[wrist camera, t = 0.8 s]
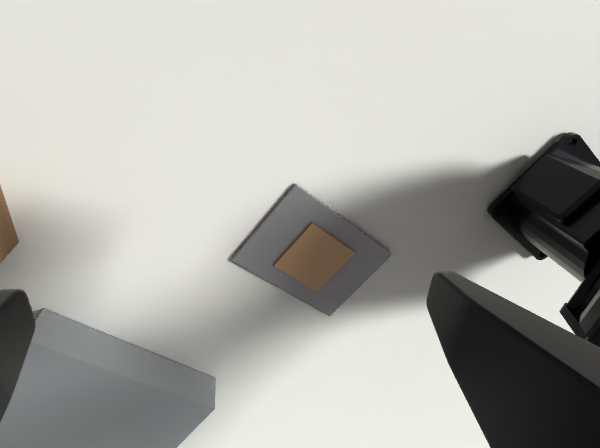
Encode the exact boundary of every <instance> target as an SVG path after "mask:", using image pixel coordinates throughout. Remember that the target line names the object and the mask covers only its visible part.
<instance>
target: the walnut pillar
mask: <svg viewBox="0 0 600 448" xmlns="http://www.w3.org/2000/svg"><path fill="white" fill-rule="evenodd" d="M18 243H19V242H18V239H17V235H16V232H15V229H14V226H13V223H12V220H11V217H10V214H9V211H8V208H7V205H6V202H5V198H4V195H3V192H2V189H1V186H0V263H1V262H2V261H3V260H4V258H5V257H6V256H7V255H8V254H9V253H10V252H11V251H12V249H13V248H14V247H15V246H16V245H17V244H18Z"/></svg>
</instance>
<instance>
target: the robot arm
mask: <svg viewBox="0 0 600 448" xmlns="http://www.w3.org/2000/svg"><path fill="white" fill-rule="evenodd" d="M571 140H572V141H571ZM570 141H571V142H570ZM569 142H570V144H569ZM498 208H499V209H498ZM497 209H498V211H497V212H495V211H496V210H497ZM488 214H489V215H490V216H491V217H492V218H493V219H494V220H495V221H496V222H497V223H498V224H499V225H500V226H502V227H503V228H504V229H505V230H506V231H507V232H508V233H509V234H510V235H511V236H512V237H513V238H514V239H515V240H517V241H518V242H519V243H520V244H521V245H522V246H523V247H524V248H525V249H526V250H527V251H528V252H529V253H530V254H531V255H533V256H534V257H535V258H536V259H538V260H543V259H545V258H546V257H550V258H551V259H552V260H554V261H555V262H556V263H557V264H559V265H560V266H561V267H563V268H564V269H565V270H566V271H568V272H569V273H570V274H572V275H573V276H574V277H575V278H577V279H578V280H579V281H581V282H582V283H581V284H580V286H579V287H578V289H577V290H576V292H575V293H574V294H573V296H572V297H571V299H570V300H569V302H568V303H565V304H564V305H563V307H562V308H561V310H560V313H561V314H562V316H563V317H564V319H565V320H566V322H567V323H568V325H569V326H570V327H571V329H572V330H573V332H574V333H575V335H574V334H573V333H571V332H569V331H567V330H565V329H563V328H561V327H559V326H557V325H555V324H553V323H551V322H549V321H547V320H545V319H544V318H542V317H540V316H538V315H536V314H534V313H532V312H530V311H528V310H526V309H524V308H522V307H520V306H518V305H516V304H514V303H513V302H511V301H509V300H507V299H505V298H503V297H501V296H499V295H497V294H495V293H493V292H491V291H489V290H487V289H485V288H483V287H482V286H480V285H478V284H476V283H474V282H472V281H470V280H468V279H466V278H464V277H462V276H460V275H458V274H456V273H454V272H451V271H447V272H437V273H435V274H434V275H433V278H432V281H431V285H430V289H429V292H428V296H427V308H428V311H429V314H430V317H431V319H432V322H433V325H434V327H435V330H436V333H437V335H438V338H439V341H440V343H441V346H442V348H443V351H444V354H445V356H446V359H447V361H448V363H449V366H450V368H451V370H452V372H453V374H454V376H455V378H456V380H457V382H458V384H459V386H460V388H461V390H462V392H463V394H464V396H465V398H466V400H467V402H468V404H469V406H470V408H471V410H472V412H473V414H474V416H475V418H476V420H477V422H478V424H479V426H480V428H481V430H482V432H483V434H484V436H485V438H486V440H487V442H488V443H489V445H490V447H491V448H600V162H599V160H598V159H597V158H596V156H595V155H594V154H593V152H592V151H591V150H590V148H589V147H588V146H587V144H586V143H585V142H584V140H583V139H582V138H581V136H579V135H578V134H575V133H571V132H570V133H567V134H565V135H564V136H563V137H562V138H561V139H560V140H559V141H558V142H557V143H555V144H554V145H553V146H552V147H551V148H550V149H549V150H548V151H547V152H546V153H545V154H544V155H543V156H542V157H541V158H540V159H539V160H537V161H536V162H535V163H534V164H533V165H532V166H531V167H530V168H529V169H528V170H527V171H526V172H525V173H524V174H523V175H522V176H521V177H519V178H518V179H517V180H516V181H515V182H514V183H513V184H512V185H511V186H510V187H509V188H508V189H507V190H506V191H505V192H504V193H503V194H502V195H500V196H499V197H498V198H497V199H496V200H495V201H494V202H493V203H492V204H491V205H490V206H489V208H488ZM35 325H36V323H35V318H34V315H33V312H32V309H31V306H30V303H29V300H28V297H27V294H26V293H25V291H23V290H21V289H7V290H0V422H1V420H2V418H3V416H4V414H5V412H6V409H7V407H8V405H9V403H10V400H11V398H12V395H13V393H14V390H15V387H16V384H17V381H18V378H19V375H20V373H21V370H22V367H23V364H24V361H25V358H26V355H27V352H28V349H29V346H30V343H31V340H32V338H33V335H34V332H35Z"/></svg>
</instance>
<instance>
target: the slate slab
mask: <svg viewBox="0 0 600 448" xmlns="http://www.w3.org/2000/svg"><path fill="white" fill-rule="evenodd" d="M35 323H36V325H35V332H34V335H33V338H32V340H31V343H30V346H29V349H28V352H27V355H26V358H25V361H24V364H23V367H22V370H21V373H20V375H19V378H18V381H17V384H16V387H15V390H14V393H13V395H12V398H11V400H10V403H9V405H8V407H7V409H6V412H5V414H4V416H3V418H2V420H1V422H0V448H177V447H178V446H179V445H180V444H181V443H182V442H183V441H184V439H185V438H186V437H187V436H188V435H189V434H190V433H191V432H192V431H193V430H194V429H195V428H196V427H197V426H198V425H199V424H200V423H201V422H202V421H203V420H204V419H205V418H206V417H207V416H208V415H209V414H210V413H211V412H212V411H213V410H214V409H215V381H216V378H214V377H212V376H209V375H207V374H204V373H202V372H199V371H197V370H194V369H192V368H190V367H187V366H185V365H182V364H180V363H177V362H175V361H172V360H170V359H167V358H165V357H162V356H160V355H157V354H155V353H152V352H150V351H147V350H145V349H143V348H140V347H138V346H135V345H133V344H130V343H128V342H125V341H123V340H120V339H118V338H115V337H113V336H110V335H108V334H105V333H103V332H100V331H98V330H96V329H93V328H91V327H88V326H86V325H83V324H81V323H78V322H76V321H73V320H71V319H68V318H66V317H63V316H61V315H58V314H56V313H54V312H51V311H49V310H46V309H44V308H43V310H42V311H41V313H40V314H39V316H38V317H37V319H36V320H35Z"/></svg>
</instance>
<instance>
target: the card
mask: <svg viewBox="0 0 600 448" xmlns="http://www.w3.org/2000/svg"><path fill="white" fill-rule="evenodd" d="M391 255H392V254H391V253H390V252H389V251H388V250H386V249H385V248H384V247H382V246H381V245H380V244H378V243H377V242H375V241H374V240H373V239H371V238H370V237H368V236H367V235H366V234H364V233H363V232H362V231H360V230H359V229H357V228H356V227H355V226H353V225H352V224H350V223H349V222H348V221H346V220H345V219H344V218H342V217H341V216H339V215H338V214H337V213H335V212H334V211H333V210H331V209H330V208H328V207H327V206H326V205H324V204H323V203H321V202H320V201H319V200H317V199H316V198H315V197H313V196H312V195H310V194H309V193H308V192H306V191H305V190H304V189H302V188H301V187H299V186H298V185H297V184H294V186H293V187H292V188H291V189H290V190H289V192H288V193H287V194H286V195H285V196H284V197H283V199H282V200H281V201H280V202H279V203H278V204H277V206H276V207H275V208H274V209H273V210H272V212H271V213H270V214H269V215H268V216H267V217H266V219H265V220H264V221H263V222H262V223H261V225H260V226H259V227H258V228H257V229H256V230H255V232H254V233H253V234H252V235H251V236H250V237H249V239H248V240H247V241H246V242H245V243H244V245H243V246H242V247H241V248H240V249H239V250H238V252H237V253H236V254H235V255H234V256H233V257H232V261H233V262H234V263H236V264H238V265H240V266H241V267H243V268H245V269H247V270H248V271H250V272H252V273H254V274H256V275H257V276H259V277H261V278H263V279H264V280H266V281H268V282H270V283H272V284H273V285H275V286H277V287H279V288H280V289H282V290H284V291H286V292H287V293H289V294H291V295H293V296H295V297H296V298H298V299H300V300H302V301H303V302H305V303H307V304H309V305H311V306H312V307H314V308H316V309H318V310H319V311H321V312H323V313H325V314H326V315H328V316H330V315H331V314H332V313H333V312H334V311H335V310H336V309H337V308H338V307H339V306H340V305H341V304H342V303H343V302H344V301H345V300H346V299H347V298H348V297H349V296H350V295H351V294H352V293H353V292H354V291H355V290H356V289H357V288H358V287H359V286H360V285H361V284H362V283H363V282H364V281H365V280H366V279H367V278H368V277H369V276H370V275H371V274H373V273H374V272H375V271H376V270H377V269H378V268H379V267H380V266H381V265H382V264H383V263H384V262H385V261H386V260H387V259H388V258H389V257H390V256H391Z"/></svg>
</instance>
